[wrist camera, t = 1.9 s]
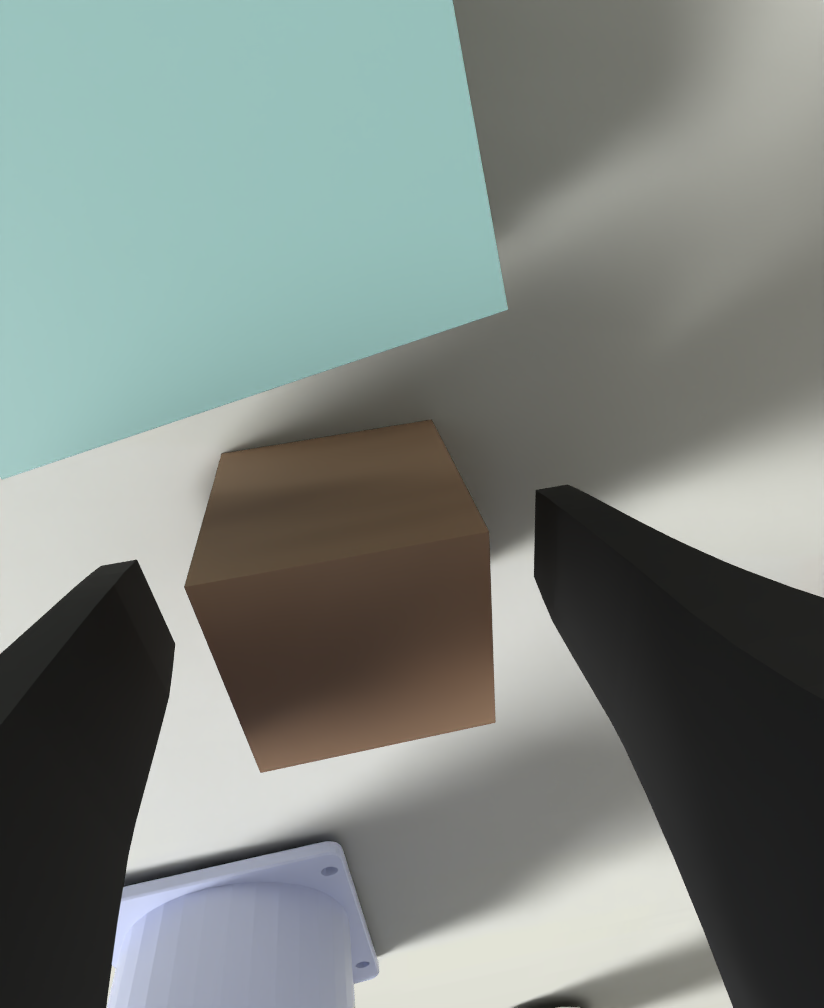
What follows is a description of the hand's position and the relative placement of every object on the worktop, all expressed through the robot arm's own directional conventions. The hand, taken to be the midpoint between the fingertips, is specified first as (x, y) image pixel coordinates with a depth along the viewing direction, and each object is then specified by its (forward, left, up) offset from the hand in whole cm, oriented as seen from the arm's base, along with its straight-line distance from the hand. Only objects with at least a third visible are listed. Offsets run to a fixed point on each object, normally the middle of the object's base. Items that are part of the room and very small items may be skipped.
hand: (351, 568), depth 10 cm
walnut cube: (0, 0, -2) cm, 2 cm away
